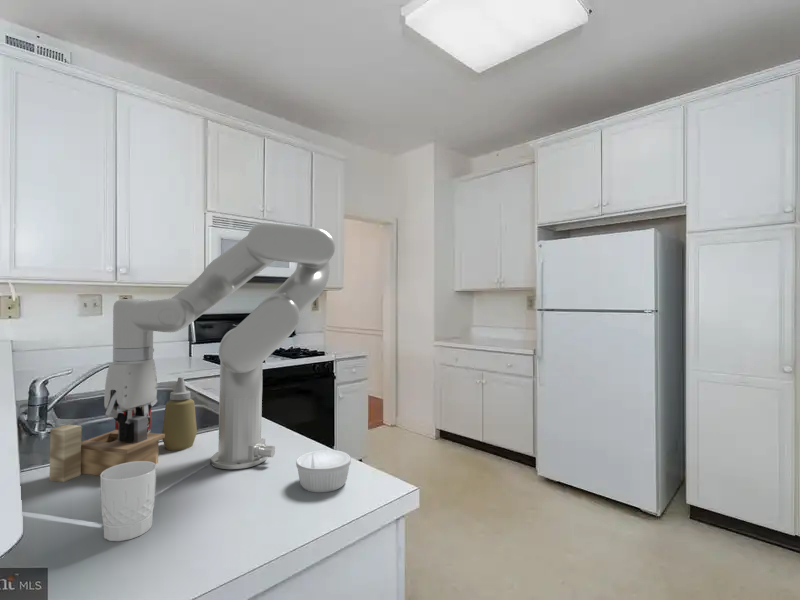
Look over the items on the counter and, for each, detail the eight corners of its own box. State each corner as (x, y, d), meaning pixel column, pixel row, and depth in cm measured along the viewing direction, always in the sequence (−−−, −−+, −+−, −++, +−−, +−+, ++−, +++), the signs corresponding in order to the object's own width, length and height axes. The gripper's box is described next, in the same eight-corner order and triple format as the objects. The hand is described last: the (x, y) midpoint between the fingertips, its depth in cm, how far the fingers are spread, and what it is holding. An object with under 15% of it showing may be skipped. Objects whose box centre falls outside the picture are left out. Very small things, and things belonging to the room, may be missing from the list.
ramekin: (285, 482, 90) (286, 457, 90) (329, 468, 98) (329, 445, 98) (316, 501, 82) (316, 473, 82) (360, 484, 90) (361, 459, 90)
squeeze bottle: (203, 447, 110) (204, 377, 110) (172, 456, 103) (173, 382, 103) (185, 441, 114) (186, 373, 114) (154, 449, 107) (156, 378, 107)
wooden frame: (164, 437, 98) (165, 412, 98) (127, 453, 88) (127, 425, 88) (116, 433, 101) (116, 408, 101) (74, 447, 91) (74, 420, 91)
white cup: (93, 548, 65) (94, 483, 65) (105, 523, 72) (106, 464, 72) (152, 537, 68) (153, 475, 68) (158, 514, 76) (159, 458, 76)
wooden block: (80, 477, 90) (81, 425, 90) (63, 484, 87) (64, 430, 87) (66, 476, 91) (67, 424, 91) (49, 483, 87) (50, 429, 87)
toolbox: (158, 465, 98) (158, 438, 98) (125, 481, 89) (125, 452, 89) (114, 460, 100) (114, 434, 100) (77, 475, 91) (78, 447, 91)
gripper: (147, 350, 103) (147, 426, 103) (85, 359, 87) (84, 450, 87) (174, 351, 101) (174, 429, 101) (116, 361, 85) (115, 453, 85)
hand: (132, 437), depth 94 cm, fingers closed on wooden frame, 2 cm apart
